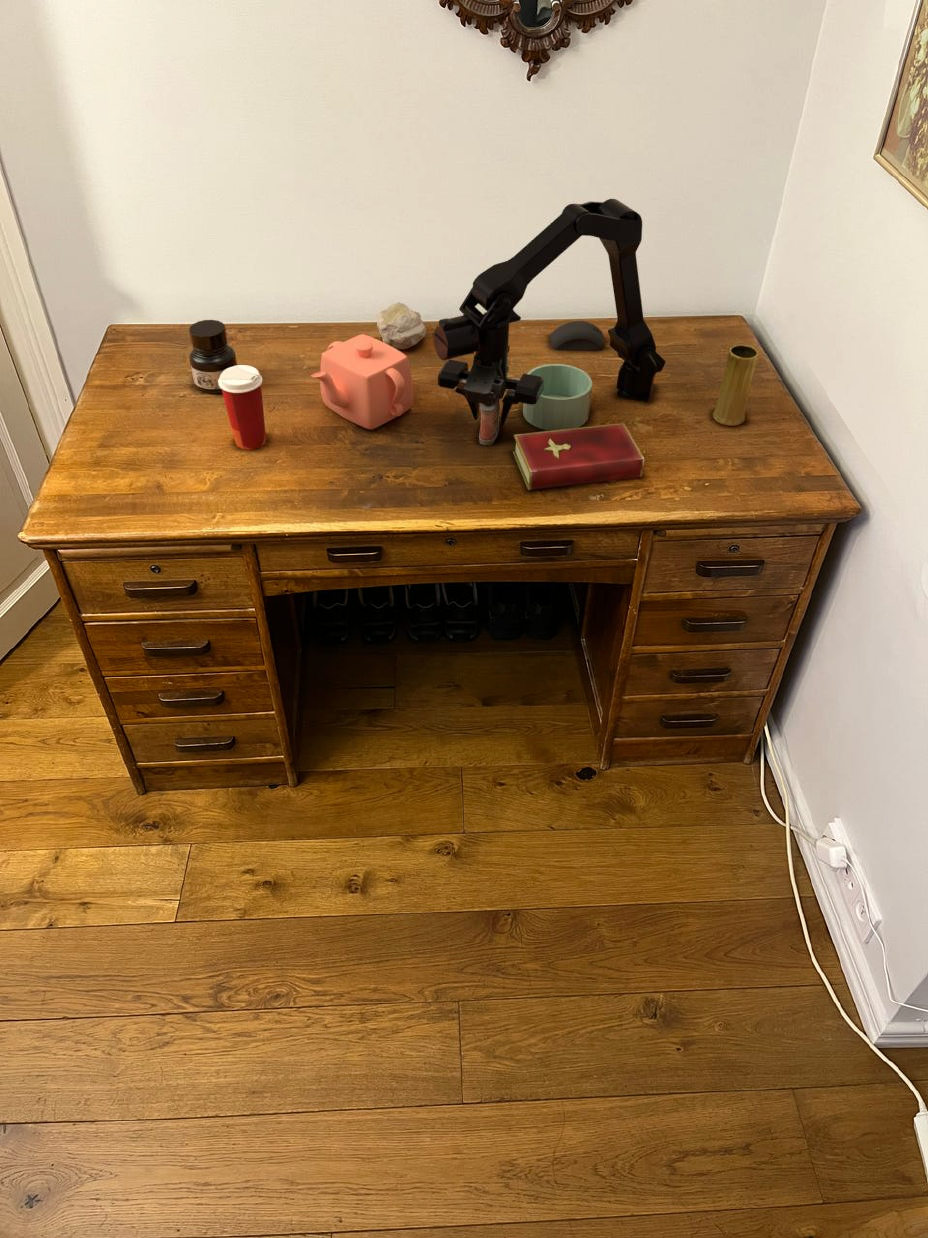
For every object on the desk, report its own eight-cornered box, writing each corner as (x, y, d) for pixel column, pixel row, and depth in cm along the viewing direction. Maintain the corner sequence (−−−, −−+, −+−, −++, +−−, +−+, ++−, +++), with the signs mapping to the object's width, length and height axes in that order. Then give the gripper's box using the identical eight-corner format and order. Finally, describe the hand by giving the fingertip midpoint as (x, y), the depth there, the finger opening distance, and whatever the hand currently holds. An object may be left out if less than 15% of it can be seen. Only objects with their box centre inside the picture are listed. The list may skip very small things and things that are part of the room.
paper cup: (278, 434, 185) (269, 367, 175) (259, 456, 180) (248, 389, 170) (241, 426, 187) (230, 360, 177) (221, 448, 181) (208, 381, 172)
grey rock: (432, 332, 214) (387, 332, 215) (428, 294, 208) (382, 295, 210) (422, 356, 204) (375, 356, 206) (418, 317, 199) (370, 317, 201)
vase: (747, 413, 192) (764, 347, 182) (740, 429, 188) (756, 362, 178) (717, 406, 193) (731, 340, 183) (709, 421, 189) (723, 355, 179)
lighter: (494, 445, 183) (496, 399, 176) (476, 443, 183) (477, 396, 176) (501, 422, 188) (503, 376, 181) (484, 420, 189) (485, 373, 182)
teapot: (284, 415, 190) (275, 350, 180) (358, 376, 200) (353, 313, 190) (354, 456, 180) (349, 390, 170) (428, 414, 190) (427, 350, 180)
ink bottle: (184, 388, 196) (172, 333, 188) (208, 367, 202) (198, 313, 193) (226, 398, 193) (216, 343, 185) (249, 377, 199) (240, 322, 191)
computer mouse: (604, 350, 208) (606, 333, 206) (551, 349, 208) (552, 332, 206) (602, 335, 213) (604, 318, 210) (550, 335, 213) (551, 317, 210)
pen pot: (595, 402, 194) (599, 370, 189) (579, 436, 185) (582, 404, 180) (533, 390, 197) (535, 358, 192) (514, 423, 188) (516, 391, 183)
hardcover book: (642, 478, 176) (645, 458, 173) (528, 491, 173) (530, 471, 170) (621, 440, 184) (624, 421, 181) (512, 452, 181) (513, 433, 178)
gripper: (426, 358, 170) (427, 434, 181) (529, 377, 166) (524, 454, 177) (448, 328, 177) (448, 403, 188) (547, 346, 173) (541, 422, 184)
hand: (489, 421), depth 184 cm, fingers open, 5 cm apart
